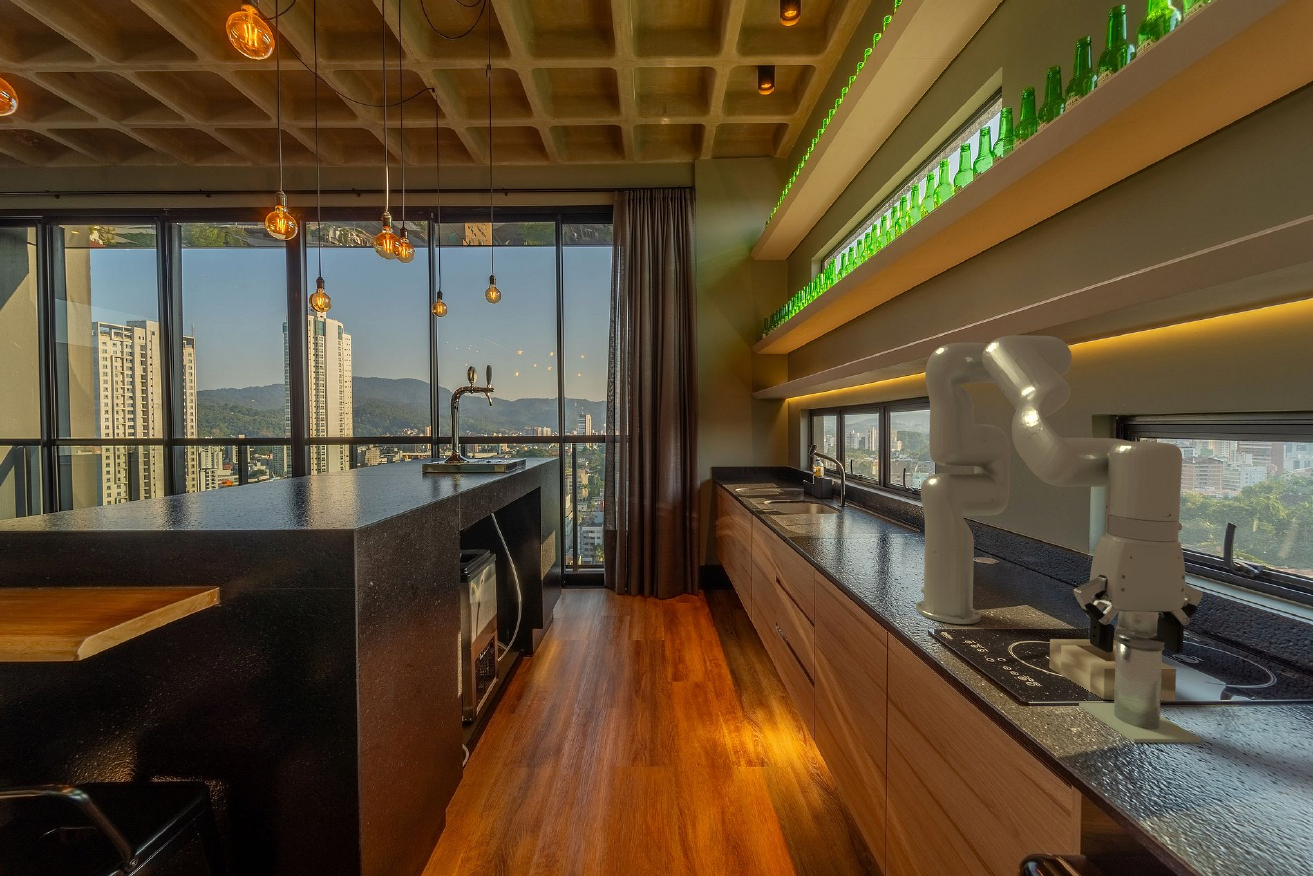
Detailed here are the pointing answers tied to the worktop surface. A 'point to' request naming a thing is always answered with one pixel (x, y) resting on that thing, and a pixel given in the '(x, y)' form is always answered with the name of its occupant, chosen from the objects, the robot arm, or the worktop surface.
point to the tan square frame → (1097, 668)
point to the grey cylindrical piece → (1138, 678)
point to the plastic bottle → (1138, 621)
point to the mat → (1163, 734)
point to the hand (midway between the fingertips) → (1135, 648)
